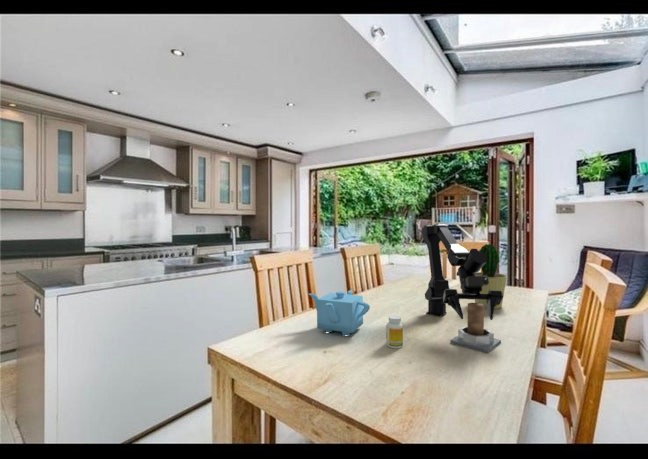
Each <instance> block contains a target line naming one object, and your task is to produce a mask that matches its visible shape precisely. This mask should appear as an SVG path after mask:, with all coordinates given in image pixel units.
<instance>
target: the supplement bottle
mask: <svg viewBox="0 0 648 459" xmlns="http://www.w3.org/2000/svg"><path fill="white" fill-rule="evenodd" d="M385 327H386V330H385V331H386V332H385V333H386V334H385V335H386V340H385V343H386V346H387V347H388V348H391V349H401V348H402V347H404V346H403V345H404V325H403V324H402V317H401V316H400V315H388V322H387V323H386V326H385Z"/></svg>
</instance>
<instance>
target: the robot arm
mask: <svg viewBox="0 0 648 459" xmlns="http://www.w3.org/2000/svg"><path fill="white" fill-rule="evenodd" d="M421 235H422V240H423V241H424V243H425V244H426V246H427V250H428V259H429V267H430V268H429V269H430V275H431V276H430V280H429V281H428V287H427V289H426V291H425V293H424V300H427V301H428V303H427V304H428V305H427V306H428V307H427V308H428V310H427V311H426V314H428V315H432V316H436V317H442V316H444V315H446V314H447V305H448V306H449V307H451V308H452V309H453V310H454V311H455V313H456V314H457V315H458V316H459V318H460V319H461V320H463V319H464V313H463V310H462V306H461V303H460V300H474V301H475V300H486V302H487V303H488V304H487V308H486V309H487V312H488V316H489V319H490V321H493V319H494V313H495V312H494V311H495V309H494V307H496V306H497V305H499V304H500V302H501V300H502V298H503V299H504V296H503V293H502V292H501V291H500V290H489V291H488V294H480V291H482V286H484V285H488V284H489V280H488V276H487V275H482V276H476V274H475V273H476V272H480V270H482V267H483V265H484V264H485V263H486V261H487V257H486V255H484V254H483V253H482V252H480V251H479V250H478V249H477V248H471V249H470V250H469V251H468V250H467V249H466V248H465V247H463V246H461V245H460V244H459V243H458V242H457V239H456V238H455V237H454V235H453V234H452V233H451V231H450V230H449V226H448V225H447V224H446V223H444V224H443V223H442V224H441V223H440V224H438V223H436V224H424V225H423V227H422V228H421ZM440 243H442V245H443V246H444V248H445V249H446V251H447V257H446V258H447V259H448V262H449V264H450V265H451V266H452V267H458V269H457V271H456V273H455V274H456V276H457V277H459V278H458V279H459V283H460V287H459V288H460V290H461V292H458V290H457V289H456V288H450V285H449V280H448V279H446V278H445V277H444V276H443V275H444V274H443V267H442V258H441V257H442V256H441V248H440Z"/></svg>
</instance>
